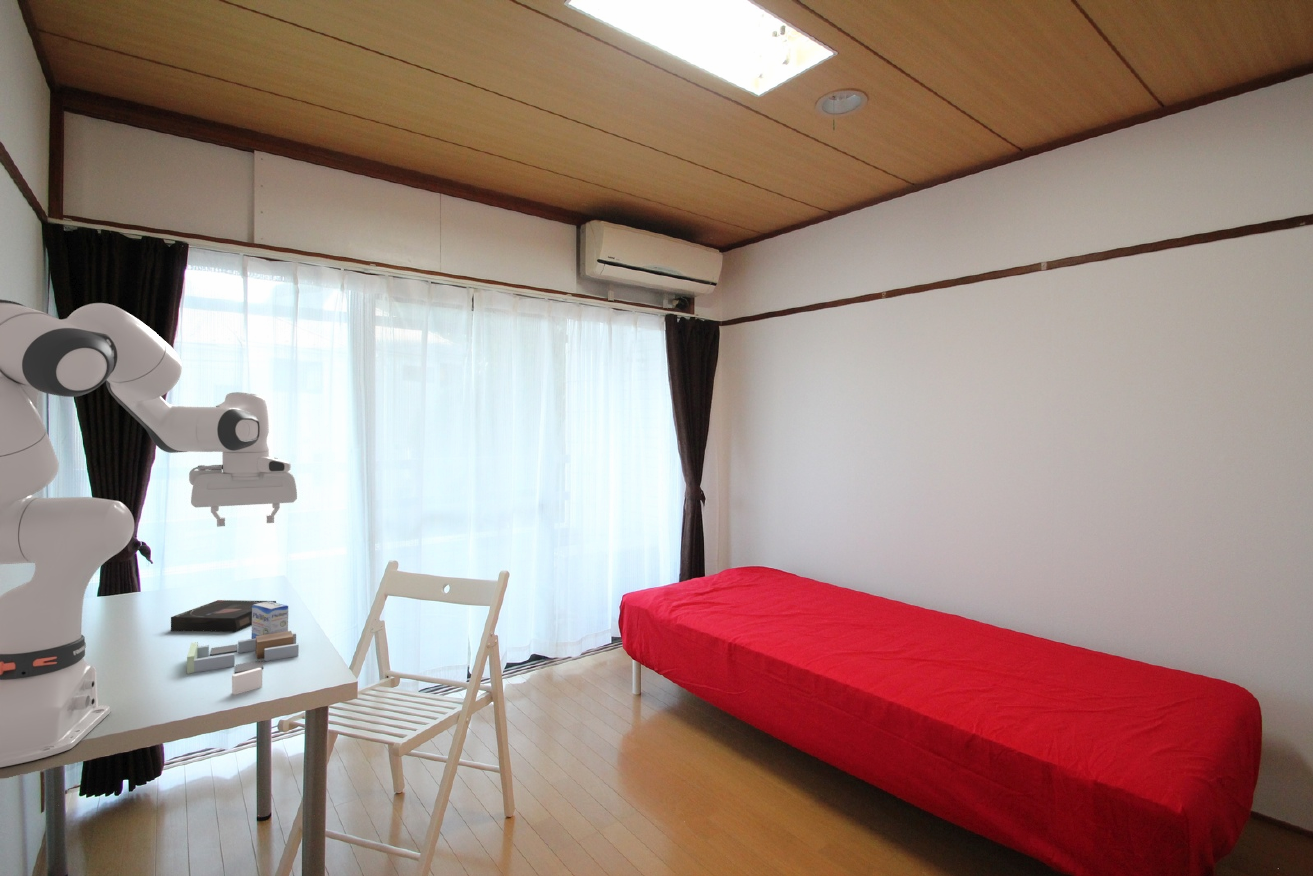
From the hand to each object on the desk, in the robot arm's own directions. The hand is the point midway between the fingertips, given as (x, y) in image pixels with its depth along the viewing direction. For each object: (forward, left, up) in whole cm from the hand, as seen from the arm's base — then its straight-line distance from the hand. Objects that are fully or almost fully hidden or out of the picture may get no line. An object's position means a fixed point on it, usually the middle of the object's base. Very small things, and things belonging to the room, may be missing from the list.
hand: (246, 524), depth 142 cm
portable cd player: (+30, +4, -30) cm, 43 cm away
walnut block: (-4, -6, -30) cm, 30 cm away
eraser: (-25, -1, -30) cm, 39 cm away
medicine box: (+7, -5, -30) cm, 31 cm away
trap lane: (-4, -1, -29) cm, 30 cm away
